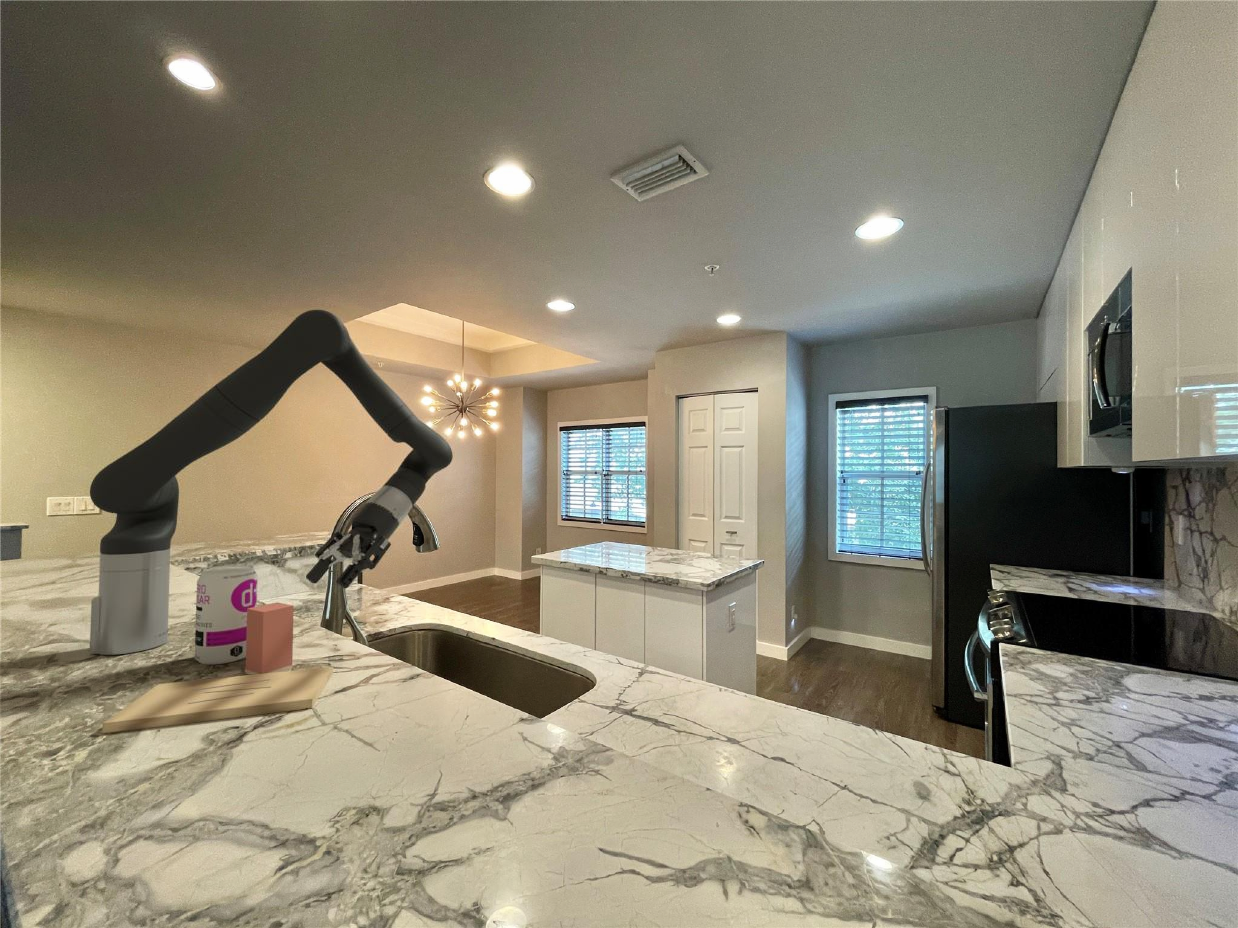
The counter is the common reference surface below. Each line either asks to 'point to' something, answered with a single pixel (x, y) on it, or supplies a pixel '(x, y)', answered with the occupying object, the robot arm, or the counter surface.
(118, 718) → the oak board
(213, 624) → the supplement can
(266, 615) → the block
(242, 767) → the counter surface
